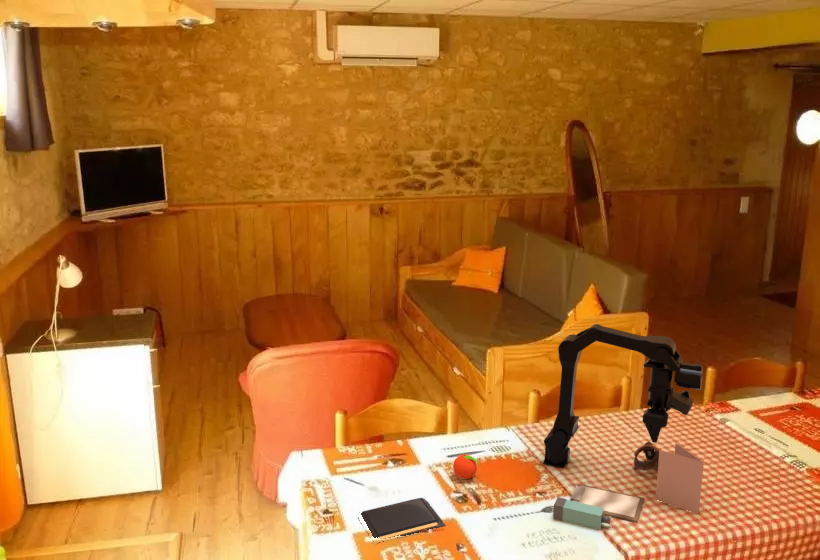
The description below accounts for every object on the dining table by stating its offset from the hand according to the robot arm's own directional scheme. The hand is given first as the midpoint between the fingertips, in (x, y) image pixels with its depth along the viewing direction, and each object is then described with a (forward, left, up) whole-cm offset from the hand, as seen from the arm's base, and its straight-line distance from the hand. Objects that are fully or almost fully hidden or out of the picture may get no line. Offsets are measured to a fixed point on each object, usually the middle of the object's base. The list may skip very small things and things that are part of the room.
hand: (656, 435), depth 199 cm
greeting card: (+7, -9, -15) cm, 19 cm away
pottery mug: (-2, +9, -15) cm, 17 cm away
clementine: (-49, -19, -15) cm, 55 cm away
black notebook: (-57, -46, -15) cm, 75 cm away
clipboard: (-10, -16, -15) cm, 24 cm away
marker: (-15, -27, -15) cm, 34 cm away
